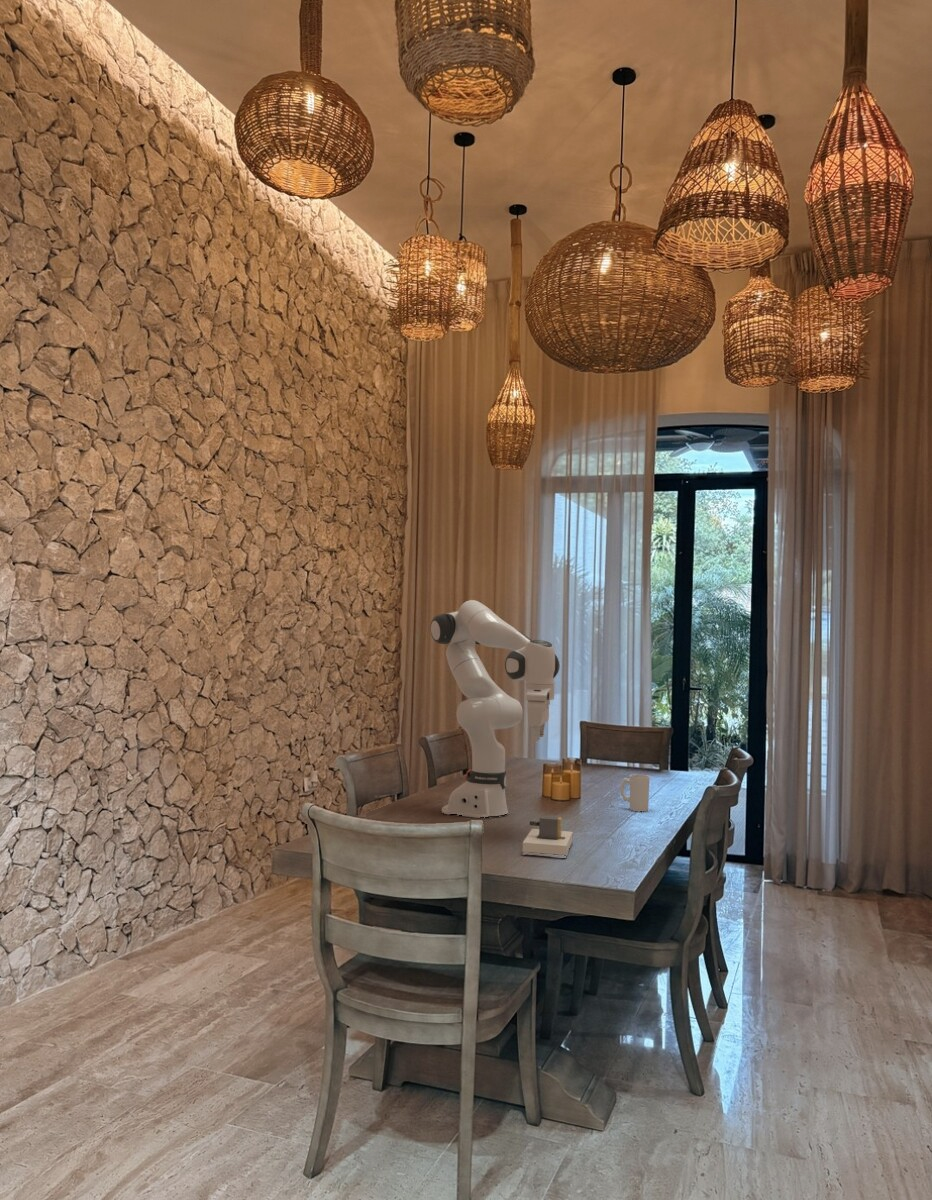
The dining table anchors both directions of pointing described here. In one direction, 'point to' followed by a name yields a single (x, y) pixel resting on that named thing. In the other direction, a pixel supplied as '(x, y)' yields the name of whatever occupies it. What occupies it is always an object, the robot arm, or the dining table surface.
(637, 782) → the mug
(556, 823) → the plug
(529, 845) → the socket block
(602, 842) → the dining table surface
